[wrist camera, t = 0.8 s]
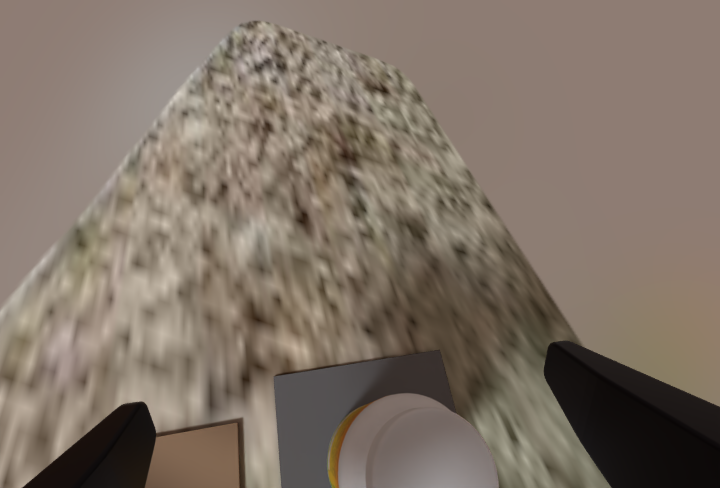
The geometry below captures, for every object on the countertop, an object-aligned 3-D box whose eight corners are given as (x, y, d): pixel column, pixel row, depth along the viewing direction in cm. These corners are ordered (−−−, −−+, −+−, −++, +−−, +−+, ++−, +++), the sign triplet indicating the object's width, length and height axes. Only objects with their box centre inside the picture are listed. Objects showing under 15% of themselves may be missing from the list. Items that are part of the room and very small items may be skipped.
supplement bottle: (307, 490, 19) (314, 539, 10) (352, 386, 21) (388, 355, 13) (405, 542, 18) (499, 640, 10) (439, 431, 21) (537, 429, 12)
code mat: (490, 550, 19) (492, 551, 19) (290, 608, 17) (290, 610, 16) (438, 350, 23) (439, 349, 23) (273, 377, 21) (273, 376, 21)
